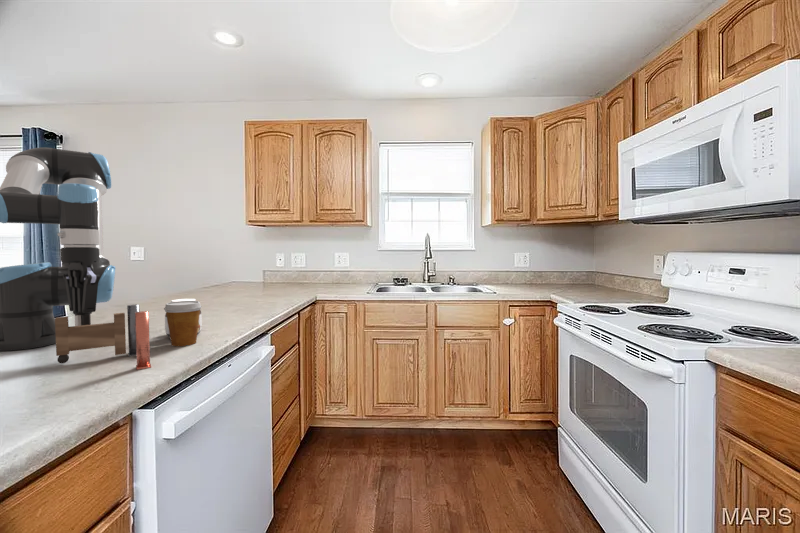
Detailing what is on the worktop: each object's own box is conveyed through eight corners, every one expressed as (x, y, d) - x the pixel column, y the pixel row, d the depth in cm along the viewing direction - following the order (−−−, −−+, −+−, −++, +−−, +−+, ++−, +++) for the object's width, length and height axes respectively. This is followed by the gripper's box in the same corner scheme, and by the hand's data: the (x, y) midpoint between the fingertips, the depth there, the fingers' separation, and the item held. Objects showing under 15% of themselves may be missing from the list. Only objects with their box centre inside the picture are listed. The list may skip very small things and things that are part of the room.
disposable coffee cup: (192, 338, 117) (191, 299, 116) (208, 342, 111) (207, 302, 111) (158, 344, 109) (157, 303, 109) (174, 349, 104) (173, 306, 103)
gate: (57, 362, 91) (55, 317, 90) (125, 353, 99) (124, 311, 98) (56, 364, 89) (54, 318, 88) (126, 355, 97) (124, 313, 96)
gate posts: (128, 354, 99) (126, 305, 99) (145, 351, 102) (144, 303, 101) (131, 370, 86) (129, 313, 85) (151, 367, 88) (149, 312, 88)
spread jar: (182, 341, 113) (181, 302, 113) (150, 339, 116) (149, 301, 115) (210, 332, 125) (209, 297, 125) (180, 331, 127) (179, 296, 127)
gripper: (49, 246, 94) (52, 340, 95) (74, 246, 88) (78, 346, 89) (85, 246, 101) (88, 334, 102) (111, 246, 95) (114, 339, 96)
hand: (83, 339), depth 96 cm, fingers closed
